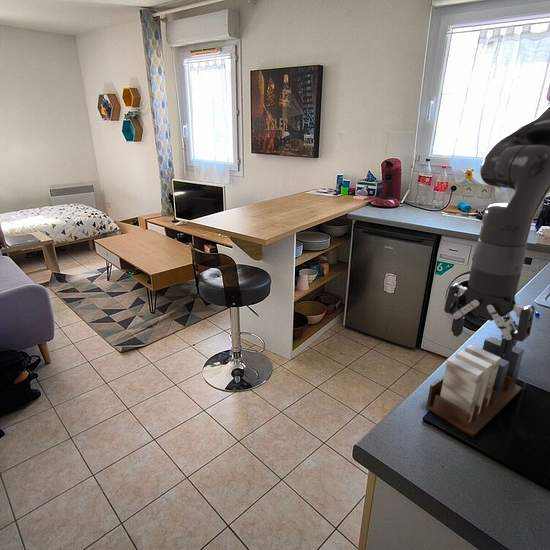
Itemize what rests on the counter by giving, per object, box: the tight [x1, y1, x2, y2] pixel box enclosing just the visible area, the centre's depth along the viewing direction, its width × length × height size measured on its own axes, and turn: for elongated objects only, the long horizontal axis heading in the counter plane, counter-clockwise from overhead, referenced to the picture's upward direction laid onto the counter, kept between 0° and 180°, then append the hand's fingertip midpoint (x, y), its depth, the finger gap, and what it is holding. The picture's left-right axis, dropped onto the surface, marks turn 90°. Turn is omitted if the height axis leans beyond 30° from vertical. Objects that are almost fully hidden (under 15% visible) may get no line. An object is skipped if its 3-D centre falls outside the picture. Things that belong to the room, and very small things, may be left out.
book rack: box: [425, 335, 525, 438], centre depth 76 cm, size 10×22×13 cm, turn 127°
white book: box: [455, 349, 492, 414], centre depth 73 cm, size 6×2×12 cm, turn 37°
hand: (478, 344), depth 69 cm, fingers open, 8 cm apart
